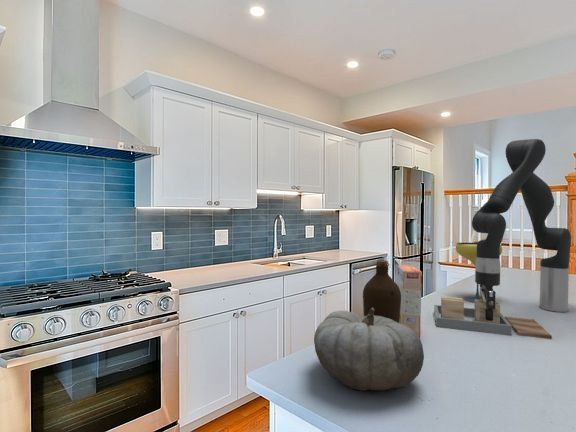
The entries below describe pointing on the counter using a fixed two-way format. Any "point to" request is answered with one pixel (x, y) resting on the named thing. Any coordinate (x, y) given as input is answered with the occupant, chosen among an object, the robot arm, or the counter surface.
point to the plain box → (452, 308)
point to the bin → (472, 323)
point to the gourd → (368, 350)
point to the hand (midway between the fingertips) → (486, 316)
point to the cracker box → (410, 296)
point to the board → (528, 327)
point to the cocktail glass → (470, 253)
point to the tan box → (480, 312)
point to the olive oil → (382, 294)
